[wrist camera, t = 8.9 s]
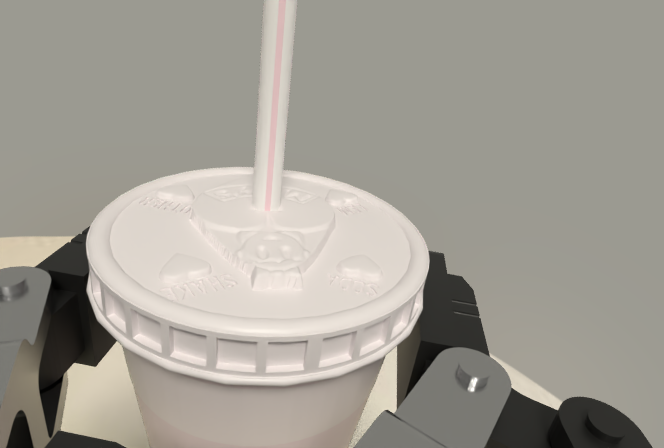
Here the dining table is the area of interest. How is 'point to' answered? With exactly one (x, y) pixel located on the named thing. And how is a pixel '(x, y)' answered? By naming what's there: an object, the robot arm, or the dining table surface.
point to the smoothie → (255, 289)
